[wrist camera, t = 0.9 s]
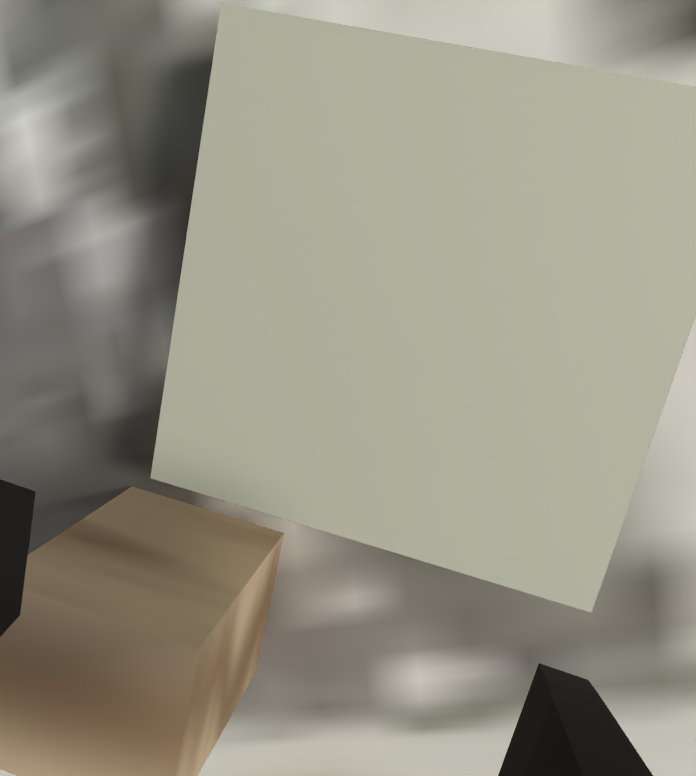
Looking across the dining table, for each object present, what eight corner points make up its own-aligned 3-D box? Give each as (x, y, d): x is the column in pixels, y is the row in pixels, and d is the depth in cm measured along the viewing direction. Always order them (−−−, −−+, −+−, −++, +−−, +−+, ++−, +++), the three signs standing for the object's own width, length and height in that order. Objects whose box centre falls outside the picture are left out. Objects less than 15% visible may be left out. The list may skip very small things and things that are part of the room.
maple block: (255, 673, 21) (163, 834, 15) (113, 624, 22) (-25, 759, 16) (284, 532, 20) (197, 650, 14) (132, 485, 21) (-8, 578, 15)
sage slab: (575, 553, 18) (591, 612, 15) (201, 444, 20) (150, 478, 17) (719, 127, 15) (770, 100, 12) (268, 44, 17) (221, 3, 14)
